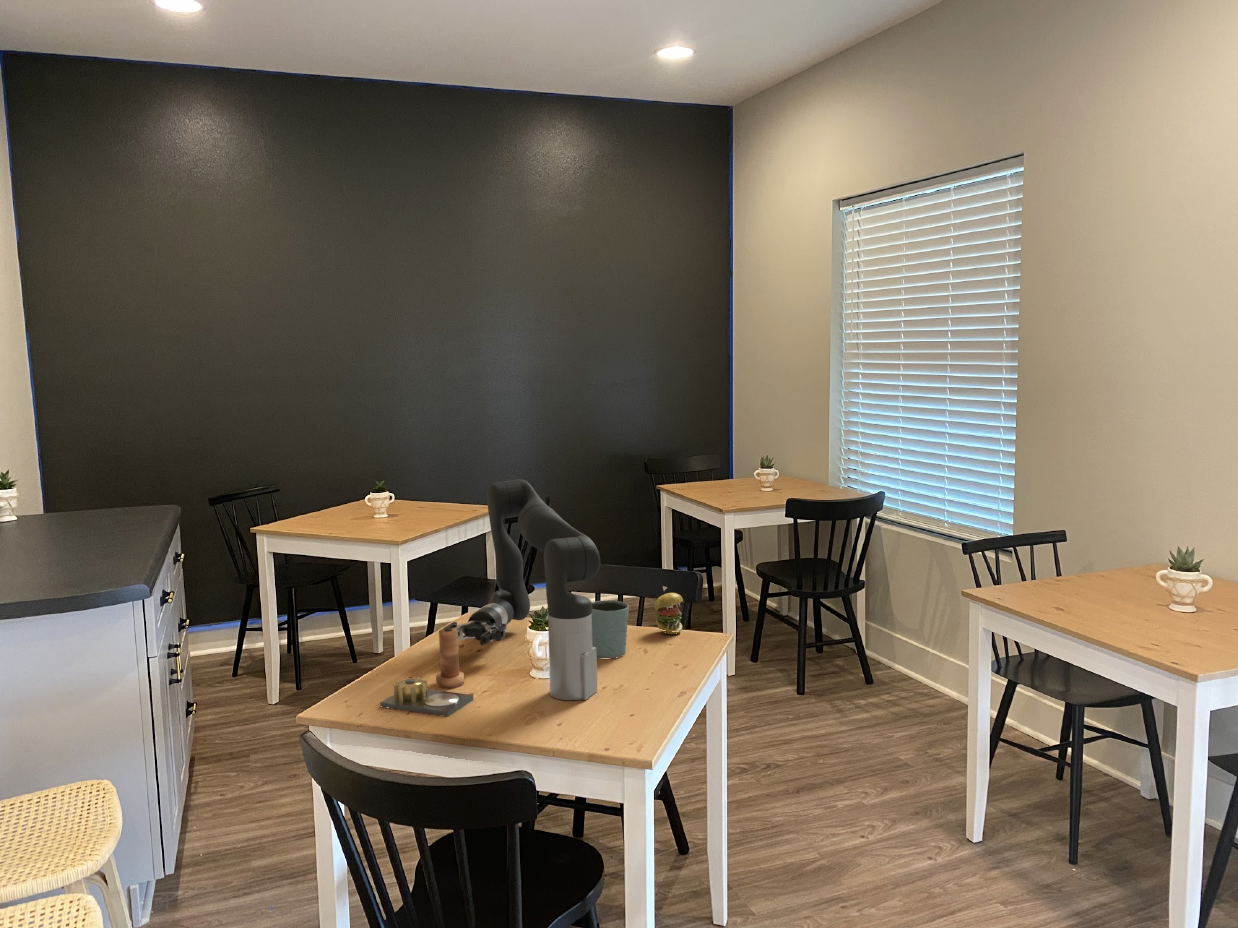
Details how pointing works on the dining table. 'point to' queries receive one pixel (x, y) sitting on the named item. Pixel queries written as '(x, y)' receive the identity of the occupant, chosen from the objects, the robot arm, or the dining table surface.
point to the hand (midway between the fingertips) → (464, 640)
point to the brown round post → (449, 660)
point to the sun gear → (410, 689)
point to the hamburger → (668, 612)
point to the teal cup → (609, 628)
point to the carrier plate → (432, 703)
